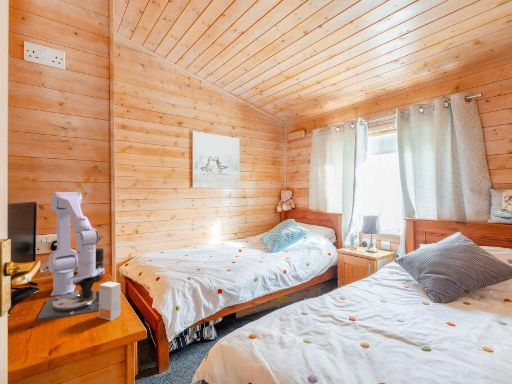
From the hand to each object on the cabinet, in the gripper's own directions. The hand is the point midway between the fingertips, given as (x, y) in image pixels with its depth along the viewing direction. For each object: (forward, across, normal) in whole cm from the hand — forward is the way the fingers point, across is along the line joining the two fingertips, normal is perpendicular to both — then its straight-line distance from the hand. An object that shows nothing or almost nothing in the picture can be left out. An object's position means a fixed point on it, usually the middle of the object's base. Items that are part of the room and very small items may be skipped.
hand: (86, 297), depth 103 cm
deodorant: (+4, +24, +23) cm, 33 cm away
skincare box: (+5, -2, -13) cm, 14 cm away
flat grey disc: (+3, +1, +6) cm, 7 cm away
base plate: (+4, 0, +6) cm, 8 cm away
